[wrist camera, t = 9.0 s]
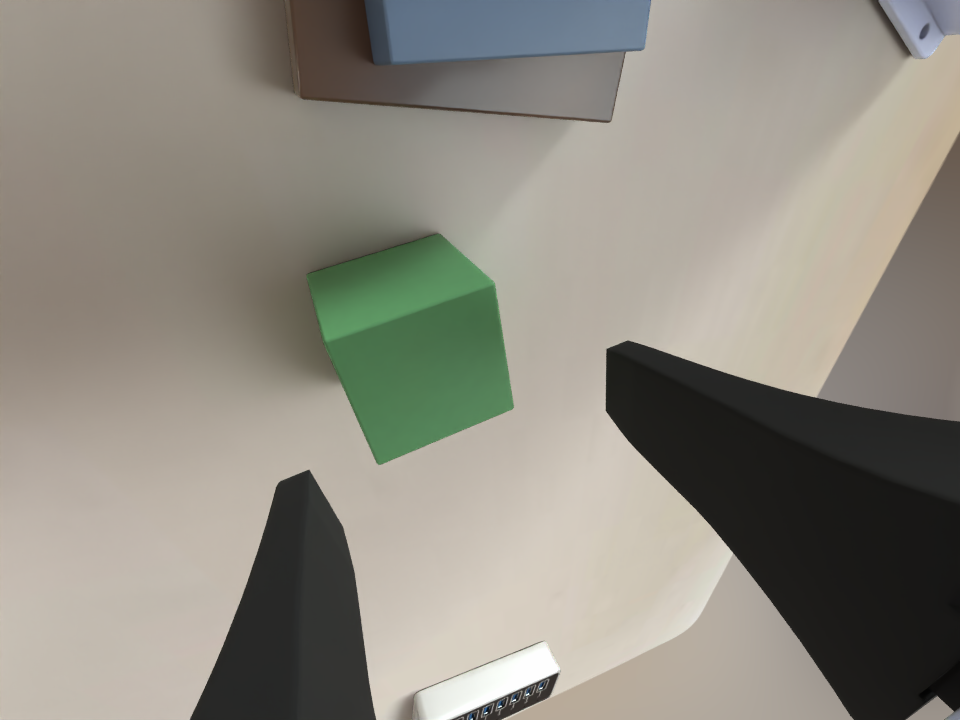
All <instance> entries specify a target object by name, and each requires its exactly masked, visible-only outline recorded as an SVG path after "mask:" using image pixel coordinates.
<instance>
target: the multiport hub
mask: <svg viewBox="0 0 960 720" xmlns="http://www.w3.org/2000/svg"><path fill="white" fill-rule="evenodd" d="M560 672H561V670H560V668H559V666H558V664H557V662H556V660H555V658H554V656H553V654H552V652H551V650H550V648H549V646H548V644H547V642H546V641H544V642H541V643H538V644H536V645H533V646H531V647H528V648H526V649H523V650H521V651H518V652H516V653H513V654H511V655H508V656H506V657H504V658H501V659H499V660H496V661H494V662H491V663H489V664H486V665H484V666H481V667H479V668H476V669H474V670H471V671H469V672H466V673H464V674H461V675H459V676H456V677H454V678H451V679H449V680H446V681H444V682H441V683H439V684H437V685H434V686H432V687H429V688H427V689H424V690H422V691H419V692H418V693H416V694H415V696H414V704H413V715H412V720H502V719H504V718H506V717H508V716H511V715H513V714H515V713H517V712H519V711H521V710H524V709H526V708H528V707H530V706H532V705H534V704H537V703H539V702H541V701H543V700H545V699H547V698H549V697H550V696H551V694H552V692H553V690H554V687H555V685H556V682H557V680H558V677H559V675H560Z"/></svg>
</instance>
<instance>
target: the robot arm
mask: <svg viewBox="0 0 960 720" xmlns="http://www.w3.org/2000/svg"><path fill="white" fill-rule="evenodd" d="M878 2H879V3H880V5H881V6H882V8H883V9H884V11H885V13H886V14H887V16H888V17H889V19H890V21H891V22H892V24H893V25H894V27H895V28H896V30H897V32H898V33H899V35H900V36H901V38H902V40H903V41H904V43H905V44H906V46H907V47H908V49H909V51H910V52H911V54H912V55H913V57H914V58H915V59H926V58H928V57H929V56H930V55H932V54H933V52H934V51H935V50H936V48H937V47H938V46H939V44H940V43H941V41H942V40H943V38H944V37H945V35H960V0H878ZM606 412H607V413H608V414H609V416H610V417H611V419H612V420H613V421H614V423H615V424H616V425H617V427H618V428H619V429H620V431H621V432H622V433H623V435H624V436H625V437H626V438H627V440H628V441H629V442H630V443H631V444H632V445H633V446H634V447H635V449H636V450H637V451H638V452H639V453H640V454H641V455H642V456H643V457H644V458H645V459H646V460H647V461H648V462H649V463H650V464H651V465H652V466H653V467H654V468H655V469H656V470H657V471H658V472H659V473H660V474H661V475H662V476H663V477H664V478H665V479H666V480H667V481H668V482H669V483H670V484H671V485H672V486H673V487H674V488H675V489H676V490H677V491H678V492H679V493H680V494H681V495H682V496H683V497H684V498H685V499H686V500H687V501H688V502H689V503H690V504H691V505H692V506H693V507H694V508H695V509H696V510H697V511H698V512H699V513H700V514H701V515H702V517H703V518H704V519H705V520H706V521H707V522H708V523H709V524H710V525H711V526H712V528H713V529H714V530H715V531H716V532H717V534H718V535H719V536H720V537H721V539H722V540H723V541H724V542H725V543H726V545H727V546H728V547H729V548H730V550H731V551H732V552H733V553H734V554H735V556H736V557H737V558H738V559H739V560H740V562H741V563H742V564H743V566H744V567H745V568H746V569H747V571H748V572H749V573H750V575H751V576H752V577H753V578H754V580H755V581H756V582H757V584H758V585H759V586H760V587H761V589H762V590H763V591H764V593H765V594H766V595H767V596H768V598H769V599H770V600H771V602H772V603H773V605H774V606H775V607H776V609H777V610H778V611H779V613H780V614H781V616H782V617H783V618H784V620H785V621H786V622H787V624H788V625H789V626H790V628H791V629H792V631H793V632H794V633H795V635H796V636H797V637H798V639H799V640H800V641H801V643H802V644H803V646H804V647H805V649H806V650H807V652H808V653H809V655H810V656H811V657H812V659H813V660H814V662H815V663H816V665H817V666H818V668H819V669H820V671H821V672H822V673H823V675H824V677H825V678H826V679H827V681H828V682H829V683H830V685H831V687H832V688H833V689H834V691H835V693H836V694H837V696H838V697H839V699H840V700H841V702H842V704H843V705H844V707H845V708H846V710H847V711H848V713H849V714H850V716H851V717H852V718H853V719H854V720H906V719H907V718H909V717H910V716H911V715H913V714H914V713H915V712H917V711H918V710H919V709H921V708H922V707H923V706H924V705H926V704H927V703H929V702H930V701H931V700H933V699H934V698H935V697H937V696H938V697H939V698H940V699H941V700H943V702H945V703H946V704H947V705H948V706H949V707H950V708H951V709H952V710H953V711H954V712H953V713H952V714H951V715H950V716H948V717H947V718H946V719H944V720H960V422H957V421H948V420H940V419H932V418H926V417H918V416H911V415H904V414H898V413H892V412H886V411H880V410H874V409H868V408H862V407H857V406H852V405H847V404H842V403H837V402H832V401H828V400H824V399H819V398H815V397H810V396H806V395H801V394H797V393H793V392H789V391H785V390H782V389H778V388H774V387H771V386H767V385H764V384H760V383H757V382H753V381H750V380H746V379H743V378H740V377H737V376H733V375H730V374H727V373H724V372H721V371H718V370H715V369H712V368H709V367H706V366H703V365H700V364H697V363H694V362H691V361H688V360H685V359H682V358H680V357H677V356H674V355H671V354H668V353H665V352H662V351H659V350H656V349H654V348H651V347H648V346H645V345H641V344H638V343H635V342H631V341H625V342H623V343H620V344H618V345H615V346H613V347H610V348H608V349H607V353H606ZM190 720H376V717H375V713H374V708H373V702H372V696H371V691H370V685H369V678H368V670H367V663H366V655H365V647H364V640H363V632H362V625H361V617H360V609H359V602H358V595H357V587H356V580H355V573H354V568H353V564H352V560H351V556H350V552H349V548H348V544H347V540H346V537H345V533H344V529H343V526H342V524H341V523H340V521H339V519H338V518H337V516H336V514H335V513H334V511H333V509H332V507H331V506H330V504H329V502H328V501H327V499H326V497H325V496H324V494H323V492H322V491H321V489H320V487H319V485H318V484H317V482H316V480H315V479H314V477H313V475H312V474H311V472H310V470H307V471H305V472H302V473H300V474H297V475H295V476H292V477H290V478H287V479H285V480H282V481H280V482H279V483H278V485H277V487H276V490H275V494H274V497H273V501H272V505H271V508H270V512H269V516H268V519H267V523H266V526H265V529H264V533H263V536H262V539H261V542H260V546H259V549H258V552H257V555H256V558H255V561H254V564H253V567H252V570H251V573H250V576H249V579H248V582H247V585H246V588H245V590H244V593H243V596H242V599H241V601H240V604H239V606H238V609H237V611H236V614H235V617H234V619H233V622H232V624H231V627H230V629H229V632H228V634H227V637H226V640H225V642H224V645H223V647H222V650H221V652H220V654H219V657H218V659H217V661H216V664H215V666H214V668H213V671H212V673H211V675H210V677H209V680H208V682H207V684H206V686H205V689H204V691H203V693H202V695H201V697H200V699H199V701H198V704H197V706H196V708H195V710H194V712H193V714H192V716H191V718H190Z"/></svg>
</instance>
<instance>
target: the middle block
mask: <svg viewBox="0 0 960 720" xmlns="http://www.w3.org/2000/svg"><path fill="white" fill-rule="evenodd" d="M364 2H365V8H366V15H367V22H368V29H369V35H370V42H371V49H372V56H373V62H374V64H375V65H403V64H420V63H437V62H455V61H472V60H489V59H506V58H524V57H541V56H558V55H576V54H593V53H610V52H627V51H641V50H643V49H644V48H645V42H646V34H647V27H648V19H649V12H650V4H651V0H364Z"/></svg>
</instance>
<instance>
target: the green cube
mask: <svg viewBox="0 0 960 720" xmlns="http://www.w3.org/2000/svg"><path fill="white" fill-rule="evenodd" d="M307 280H308V284H309V288H310V292H311V296H312V300H313V304H314V308H315V312H316V316H317V320H318V324H319V328H320V332H321V336H322V340H323V343H324V346H325V348H326V350H327V352H328V355H329V357H330V359H331V361H332V364H333V366H334V368H335V370H336V373H337V375H338V377H339V379H340V382H341V384H342V386H343V388H344V391H345V393H346V395H347V397H348V400H349V402H350V404H351V406H352V409H353V411H354V413H355V415H356V418H357V420H358V422H359V424H360V427H361V429H362V431H363V433H364V436H365V438H366V440H367V442H368V445H369V447H370V449H371V451H372V454H373V456H374V458H375V460H376V463H377V464H378V465H381V464H383V463H386V462H388V461H390V460H393V459H395V458H398V457H400V456H402V455H405V454H407V453H409V452H412V451H414V450H417V449H419V448H421V447H424V446H426V445H428V444H431V443H433V442H436V441H438V440H440V439H443V438H445V437H448V436H450V435H452V434H455V433H457V432H459V431H462V430H464V429H467V428H469V427H471V426H474V425H476V424H478V423H481V422H483V421H486V420H488V419H490V418H493V417H495V416H497V415H500V414H502V413H505V412H507V411H509V410H512V409H513V408H514V405H513V398H512V392H511V385H510V379H509V372H508V366H507V359H506V353H505V346H504V340H503V333H502V327H501V320H500V314H499V307H498V301H497V294H496V288H495V283H494V282H493V281H492V280H491V279H490V278H489V277H488V276H487V275H485V274H484V273H483V272H482V271H481V270H480V269H479V268H478V267H477V266H475V265H474V264H473V263H472V262H471V261H470V260H469V259H468V258H467V257H465V256H464V255H463V254H462V253H461V252H460V251H459V250H458V249H456V248H455V247H454V246H453V245H452V244H451V243H450V242H449V241H448V240H446V239H445V238H444V237H443V236H442V235H441V234H436V235H432V236H429V237H426V238H423V239H419V240H416V241H413V242H410V243H406V244H403V245H400V246H397V247H393V248H390V249H387V250H384V251H380V252H377V253H374V254H371V255H367V256H364V257H361V258H358V259H354V260H351V261H348V262H345V263H341V264H338V265H335V266H332V267H329V268H325V269H322V270H319V271H316V272H312V273H309V274H307Z"/></svg>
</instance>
